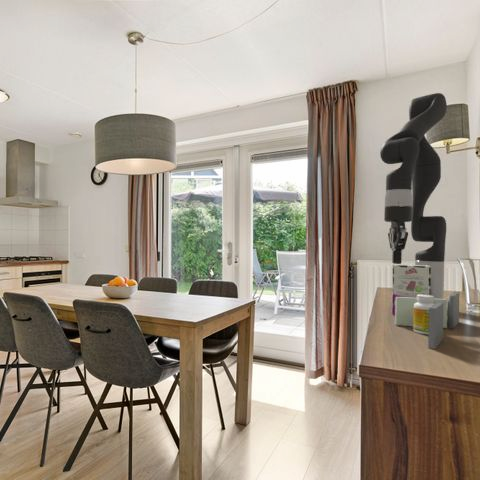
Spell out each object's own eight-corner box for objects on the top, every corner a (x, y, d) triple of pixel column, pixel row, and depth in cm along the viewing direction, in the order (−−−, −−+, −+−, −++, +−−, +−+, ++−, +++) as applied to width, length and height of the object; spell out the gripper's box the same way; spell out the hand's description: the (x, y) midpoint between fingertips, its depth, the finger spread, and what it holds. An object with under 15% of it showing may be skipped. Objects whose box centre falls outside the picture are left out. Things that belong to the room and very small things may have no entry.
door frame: (453, 321, 106) (454, 291, 106) (459, 322, 105) (460, 292, 105) (427, 347, 79) (428, 307, 79) (435, 349, 78) (436, 308, 78)
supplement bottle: (424, 335, 89) (425, 297, 89) (408, 330, 94) (409, 294, 94) (441, 334, 91) (441, 296, 91) (424, 329, 96) (424, 293, 96)
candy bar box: (428, 315, 114) (429, 265, 114) (430, 318, 110) (431, 266, 110) (391, 312, 119) (392, 263, 119) (391, 315, 114) (392, 264, 114)
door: (444, 326, 98) (445, 299, 98) (446, 327, 97) (447, 299, 97) (394, 323, 100) (395, 296, 100) (396, 324, 99) (396, 297, 99)
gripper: (379, 207, 112) (378, 262, 112) (390, 203, 99) (389, 264, 99) (404, 208, 111) (403, 262, 111) (419, 203, 98) (417, 265, 98)
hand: (396, 263), depth 105 cm, fingers closed
